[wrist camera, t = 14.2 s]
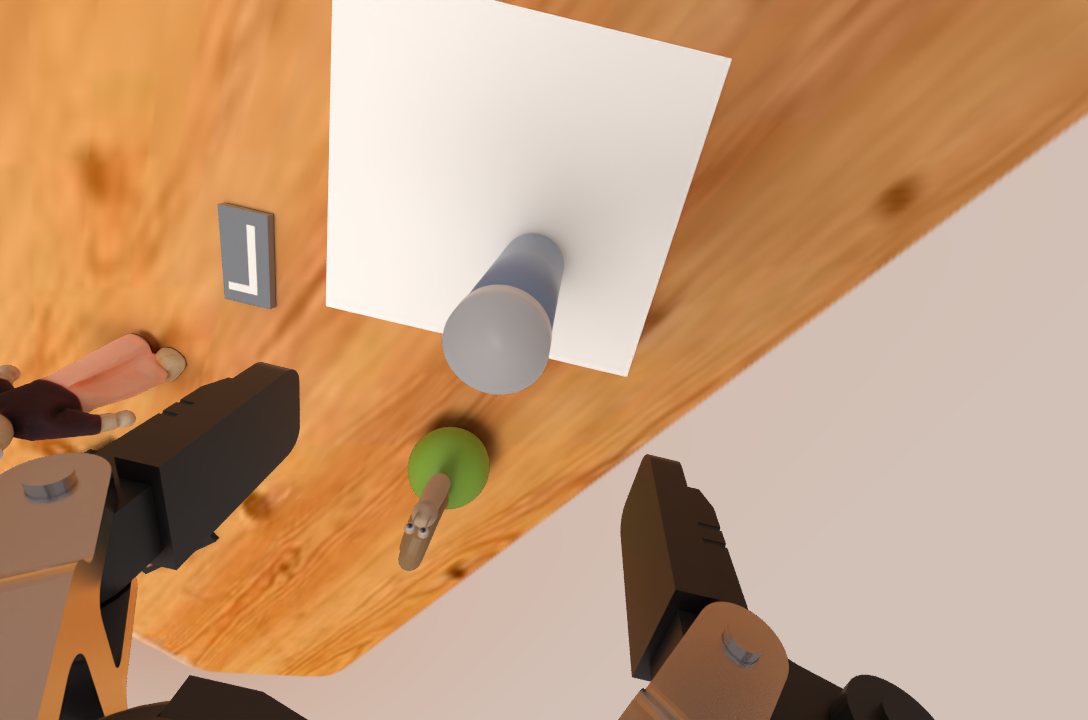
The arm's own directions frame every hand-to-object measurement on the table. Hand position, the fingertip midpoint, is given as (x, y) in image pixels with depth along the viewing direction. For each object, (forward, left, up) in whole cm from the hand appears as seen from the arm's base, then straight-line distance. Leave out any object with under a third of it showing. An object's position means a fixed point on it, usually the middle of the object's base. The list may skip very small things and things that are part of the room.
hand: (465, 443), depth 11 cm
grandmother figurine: (+13, -26, -20) cm, 35 cm away
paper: (-3, -3, -19) cm, 20 cm away
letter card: (+4, -18, -19) cm, 27 cm away
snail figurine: (+14, -3, -20) cm, 24 cm away
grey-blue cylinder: (0, 0, -19) cm, 19 cm away
